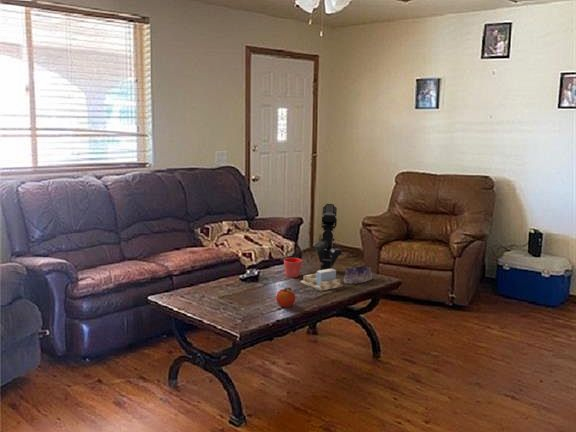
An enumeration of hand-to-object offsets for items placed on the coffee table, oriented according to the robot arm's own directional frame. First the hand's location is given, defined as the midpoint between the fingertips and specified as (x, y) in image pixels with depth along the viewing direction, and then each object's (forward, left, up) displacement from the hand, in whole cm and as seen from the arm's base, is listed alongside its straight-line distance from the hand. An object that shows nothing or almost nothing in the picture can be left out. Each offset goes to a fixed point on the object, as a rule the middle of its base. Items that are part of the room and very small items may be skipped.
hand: (326, 263), depth 332 cm
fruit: (+41, +17, -12) cm, 46 cm away
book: (+1, +2, -11) cm, 11 cm away
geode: (-21, +4, -13) cm, 25 cm away
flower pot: (+5, -24, -12) cm, 27 cm away
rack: (+1, -2, -12) cm, 12 cm away
